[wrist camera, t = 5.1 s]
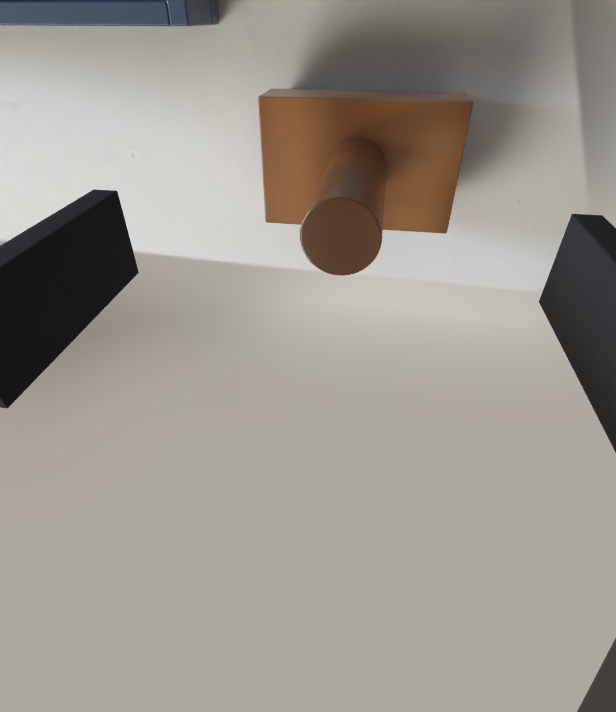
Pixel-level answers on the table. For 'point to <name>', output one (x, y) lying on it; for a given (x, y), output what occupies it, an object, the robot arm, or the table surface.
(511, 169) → the table surface
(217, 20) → the tray
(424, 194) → the stamp
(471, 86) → the table surface
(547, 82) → the table surface
